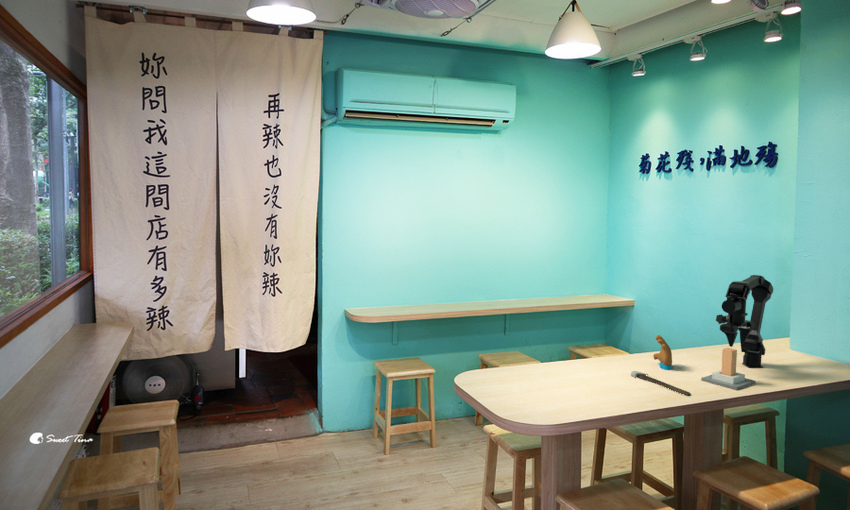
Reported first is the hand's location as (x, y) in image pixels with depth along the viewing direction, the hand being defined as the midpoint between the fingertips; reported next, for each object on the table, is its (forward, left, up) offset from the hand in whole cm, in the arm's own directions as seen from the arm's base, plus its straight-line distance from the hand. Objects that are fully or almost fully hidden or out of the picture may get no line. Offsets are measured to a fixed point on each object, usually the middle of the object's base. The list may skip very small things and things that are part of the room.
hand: (736, 345), depth 253 cm
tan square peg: (+9, +12, -12) cm, 19 cm away
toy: (+28, -10, -13) cm, 32 cm away
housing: (+9, +12, -13) cm, 20 cm away
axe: (+37, +15, -14) cm, 42 cm away
